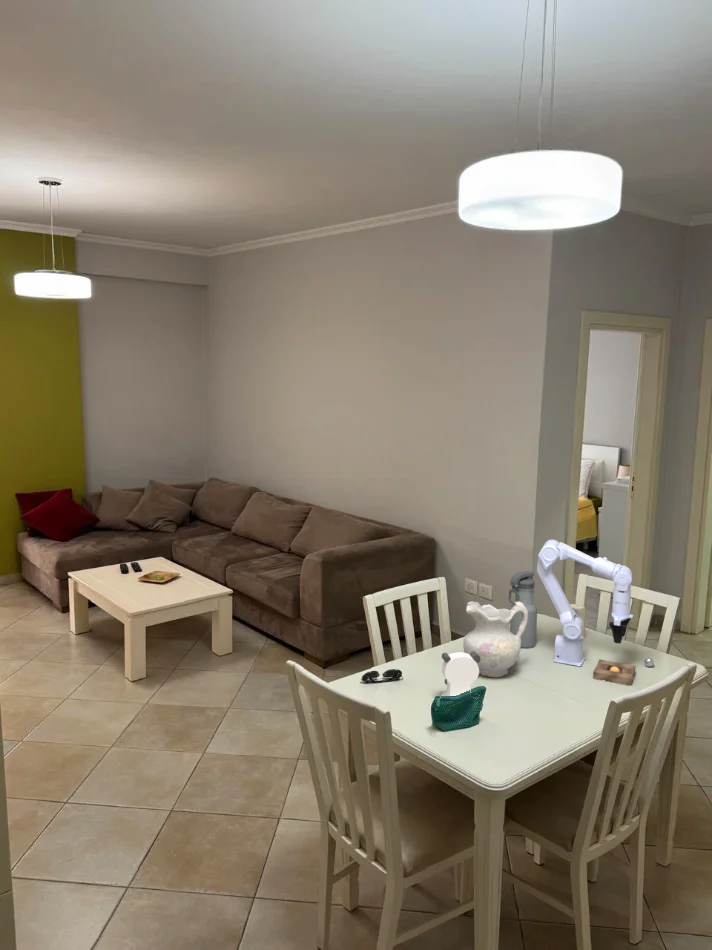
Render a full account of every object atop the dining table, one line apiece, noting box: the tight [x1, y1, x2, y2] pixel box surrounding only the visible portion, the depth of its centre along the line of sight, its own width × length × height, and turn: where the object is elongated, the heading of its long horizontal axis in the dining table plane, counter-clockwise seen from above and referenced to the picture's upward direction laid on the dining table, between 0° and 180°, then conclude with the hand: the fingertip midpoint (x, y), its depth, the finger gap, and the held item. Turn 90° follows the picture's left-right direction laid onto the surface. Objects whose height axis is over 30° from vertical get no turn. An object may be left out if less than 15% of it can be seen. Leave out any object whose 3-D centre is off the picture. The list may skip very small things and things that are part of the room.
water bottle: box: [508, 570, 538, 649], centre depth 274 cm, size 10×10×28 cm
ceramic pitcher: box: [462, 601, 528, 679], centre depth 250 cm, size 22×20×25 cm
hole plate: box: [592, 659, 637, 686], centre depth 247 cm, size 12×12×2 cm
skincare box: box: [569, 603, 586, 638], centre depth 284 cm, size 6×4×12 cm
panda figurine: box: [440, 651, 481, 697], centre depth 228 cm, size 12×11×15 cm
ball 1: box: [610, 667, 620, 672], centre depth 247 cm, size 3×3×3 cm
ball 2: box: [643, 656, 655, 668], centre depth 255 cm, size 3×3×3 cm
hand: (619, 639), depth 253 cm, fingers open, 7 cm apart
